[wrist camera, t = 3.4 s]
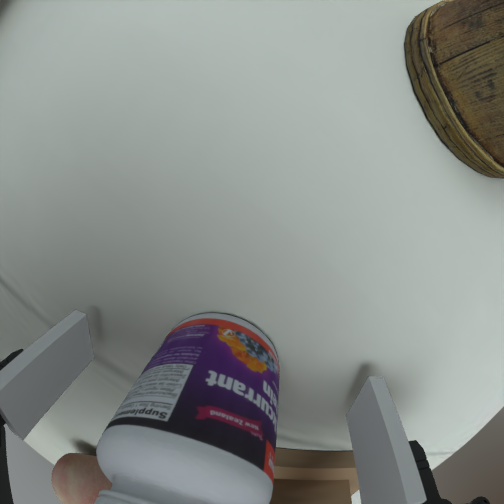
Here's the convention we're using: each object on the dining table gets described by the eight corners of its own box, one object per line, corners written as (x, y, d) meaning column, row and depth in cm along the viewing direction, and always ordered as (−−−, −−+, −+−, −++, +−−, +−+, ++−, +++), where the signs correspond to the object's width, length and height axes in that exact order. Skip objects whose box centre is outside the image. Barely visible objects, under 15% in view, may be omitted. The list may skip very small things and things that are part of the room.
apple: (82, 458, 19) (56, 501, 12) (63, 426, 17) (27, 475, 10) (141, 486, 19) (119, 536, 11) (130, 460, 17) (100, 522, 9)
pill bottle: (299, 377, 12) (301, 576, 3) (209, 406, 13) (160, 561, 4) (239, 287, 11) (145, 550, 2) (146, 333, 12) (31, 492, 3)
